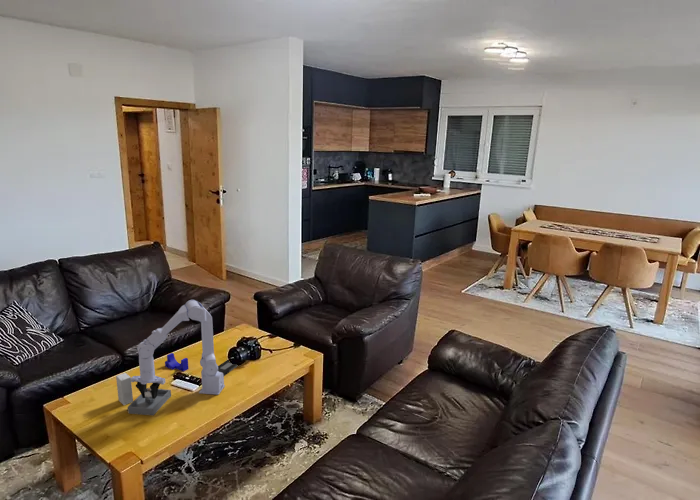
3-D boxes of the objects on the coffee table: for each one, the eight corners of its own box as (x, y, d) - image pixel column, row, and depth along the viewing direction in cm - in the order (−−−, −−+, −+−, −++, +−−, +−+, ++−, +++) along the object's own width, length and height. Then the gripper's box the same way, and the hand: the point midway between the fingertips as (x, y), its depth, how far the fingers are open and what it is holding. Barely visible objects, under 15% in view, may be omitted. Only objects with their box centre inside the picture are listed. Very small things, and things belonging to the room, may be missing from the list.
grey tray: (171, 395, 202) (170, 389, 202) (153, 415, 188) (152, 409, 187) (147, 394, 203) (147, 388, 203) (128, 413, 189) (127, 407, 188)
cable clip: (165, 367, 229) (164, 356, 227) (172, 363, 232) (171, 352, 231) (181, 373, 223) (180, 362, 222) (188, 369, 227) (187, 358, 225)
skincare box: (133, 401, 197) (131, 377, 194) (123, 405, 194) (120, 380, 191) (128, 396, 201) (125, 372, 198) (118, 400, 198) (115, 375, 195)
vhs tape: (241, 364, 233) (241, 361, 233) (223, 377, 220) (223, 373, 220) (229, 361, 236) (229, 358, 235) (211, 374, 223) (211, 370, 223)
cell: (156, 398, 197) (155, 386, 196) (151, 403, 193) (150, 391, 192) (148, 397, 197) (147, 386, 196) (143, 402, 193) (142, 391, 192)
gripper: (125, 372, 188) (128, 401, 192) (158, 374, 187) (160, 403, 190) (135, 364, 195) (137, 392, 198) (166, 366, 194) (169, 394, 197)
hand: (149, 397), depth 195 cm, fingers closed on cell, 4 cm apart
